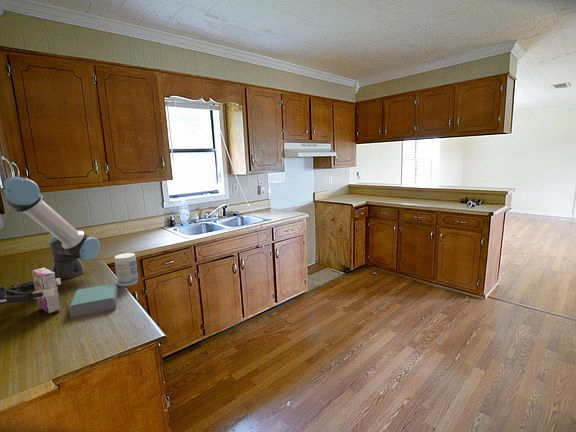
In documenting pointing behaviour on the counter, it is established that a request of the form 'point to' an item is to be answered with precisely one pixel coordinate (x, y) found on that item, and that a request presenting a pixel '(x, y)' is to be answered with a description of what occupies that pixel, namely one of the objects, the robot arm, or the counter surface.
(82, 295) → the block
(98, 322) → the counter surface
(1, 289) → the robot arm
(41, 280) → the candy bar box
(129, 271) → the supplement tub
